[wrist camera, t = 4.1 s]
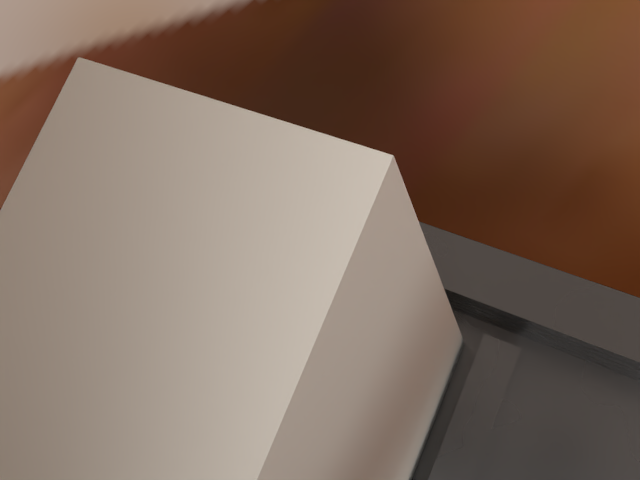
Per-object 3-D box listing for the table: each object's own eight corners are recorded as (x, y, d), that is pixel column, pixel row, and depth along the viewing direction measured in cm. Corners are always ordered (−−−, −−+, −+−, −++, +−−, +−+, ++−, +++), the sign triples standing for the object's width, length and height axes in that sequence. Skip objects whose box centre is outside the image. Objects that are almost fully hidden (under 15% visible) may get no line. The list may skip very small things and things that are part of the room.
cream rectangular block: (393, 526, 14) (1, 1087, 3) (309, 482, 15) (-285, 771, 3) (464, 343, 14) (394, 154, 3) (380, 308, 15) (78, 57, 4)
